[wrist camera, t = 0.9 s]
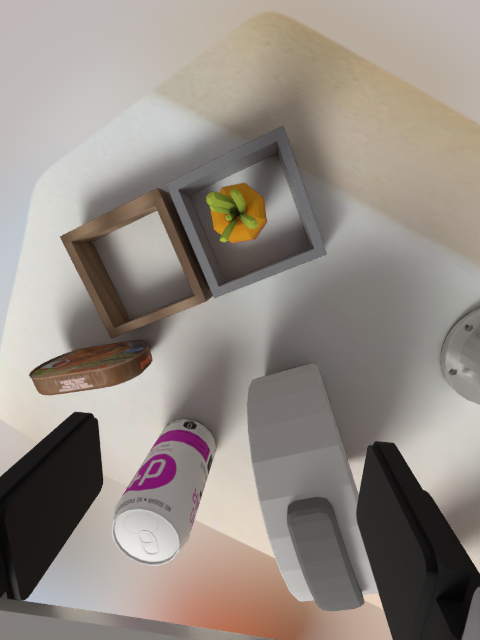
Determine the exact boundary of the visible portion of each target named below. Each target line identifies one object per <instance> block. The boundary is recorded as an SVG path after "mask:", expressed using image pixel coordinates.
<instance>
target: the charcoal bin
mask: <svg viewBox="0 0 480 640" xmlns="http://www.w3.org/2000/svg"><path fill="white" fill-rule="evenodd" d="M276 153H278V156H279V159H280V161H281V164H282V167H283V170H284V173H285V176H286V179H287V182H288V184H289V187H290V190H291V193H292V196H293V199H294V202H295V204H296V207H297V210H298V213H299V216H300V219H301V222H302V225H303V227H304V230H305V233H306V236H307V239H308V242H309V245H310V249H307V250H305V251H302V252H300V253H297V254H295V255H292V256H290V257H287V258H285V259H282V260H280V261H277V262H274V263H272V264H269V265H267V266H264V267H262V268H259V269H257V270H254V271H252V272H249V273H247V274H244V275H242V276H239V277H237V278H234V279H232V280H229V281H227V282H225V281H224V279H223V276H222V274H221V271H220V269H219V266H218V264H217V262H216V259H215V257H214V254H213V252H212V249H211V247H210V245H209V242H208V240H207V237H206V235H205V232H204V230H203V228H202V225H201V223H200V220H199V218H198V215H197V213H196V211H195V208H194V206H193V203H192V201H191V198H190V196H189V195H190V194H192V193H194V192H196V191H199V190H201V189H203V188H205V187H207V186H209V185H211V184H213V183H215V182H217V181H219V180H222V179H224V178H226V177H228V176H230V175H232V174H234V173H236V172H238V171H240V170H242V169H245V168H247V167H249V166H251V165H253V164H255V163H257V162H259V161H261V160H263V159H265V158H268V157H270V156H272V155H274V154H276ZM166 186H167V188H168V190H169V193H170V195H171V198H172V200H173V202H174V205H175V207H176V209H177V212H178V214H179V216H180V219H181V221H182V224H183V226H184V228H185V231H186V233H187V235H188V238H189V240H190V242H191V245H192V247H193V249H194V252H195V254H196V257H197V259H198V261H199V264H200V266H201V268H202V271H203V273H204V275H205V278H206V280H207V283H208V285H209V287H210V290H211V292H212V294H213V297H214V298H216V297H219V296H221V295H224V294H226V293H229V292H231V291H234V290H237V289H239V288H242V287H244V286H247V285H249V284H252V283H255V282H257V281H260V280H262V279H265V278H267V277H270V276H272V275H275V274H278V273H280V272H283V271H285V270H288V269H290V268H293V267H296V266H298V265H301V264H303V263H306V262H308V261H311V260H313V259H316V258H319V257H321V256H324V255H326V254H327V253H326V250H325V247H324V244H323V241H322V238H321V235H320V232H319V230H318V227H317V224H316V221H315V218H314V215H313V212H312V209H311V206H310V203H309V200H308V197H307V194H306V191H305V188H304V185H303V182H302V179H301V176H300V174H299V171H298V168H297V165H296V162H295V159H294V156H293V153H292V150H291V147H290V144H289V141H288V138H287V135H286V132H285V129H284V126H282V127H280V128H278V129H276V130H274V131H272V132H270V133H268V134H266V135H264V136H261V137H259V138H257V139H255V140H253V141H251V142H249V143H247V144H245V145H243V146H241V147H239V148H237V149H235V150H233V151H231V152H229V153H227V154H225V155H223V156H221V157H219V158H217V159H215V160H213V161H211V162H209V163H207V164H205V165H203V166H201V167H199V168H197V169H195V170H193V171H191V172H189V173H187V174H185V175H183V176H181V177H179V178H177V179H175V180H173V181H171V182H169V183H167V184H166Z"/></svg>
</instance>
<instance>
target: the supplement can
mask: <svg viewBox="0 0 480 640" xmlns="http://www.w3.org/2000/svg"><path fill="white" fill-rule="evenodd" d="M215 451H216V446H215V440H214V438H213V436H212V434H211V432H210V431H209V430H208V429H207V428H205V427H204V426H203V425H202V424H199V423H197V422H195V421H192V420H186V419H182V420H177V421H174V422H172V423H170V424H168V425H167V426H166V427H165V429H164V430H163V431H162V433H161V435H160V436H159V438H158V439H157V441H156V443H155V444H154V446H153V447H152V449H151V451H150V452H149V454H148V455H147V457H146V459H145V460H144V462H143V463H142V465H141V467H140V468H139V470H138V471H137V473H136V475H135V476H134V478H133V480H132V481H131V483H130V484H129V486H128V488H127V489H126V491H125V492H124V494H123V496H122V497H121V499H120V500H119V502H118V504H117V505H116V507H115V513H114V521H113V527H112V536H113V540H114V542H115V544H116V545H117V547H118V548H119V550H120V551H121V552H122V553H123V554H125V555H126V556H127V557H128V558H129V559H131V560H134V561H136V562H138V563H140V564H145V565H150V566H154V565H163V564H165V563H167V562H169V561H171V560H172V559H173V558H174V557H175V556H176V555H177V553H178V551H180V550H181V549H182V547H183V546H184V545H185V544H186V543H187V542H188V538H189V535H190V532H191V529H192V525H193V522H194V519H195V516H196V513H197V509H198V506H199V503H200V500H201V497H202V493H203V490H204V487H205V484H206V480H207V477H208V474H209V471H210V467H211V464H212V461H213V458H214V454H215Z"/></svg>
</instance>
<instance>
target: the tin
mask: <svg viewBox="0 0 480 640" xmlns="http://www.w3.org/2000/svg"><path fill="white" fill-rule="evenodd" d="M151 362H152V356H151V352H150V349H149V343H148V342H147V341H144V340H132V341H126V342H120V343H114V344H108V345H102V346H96V347H90V348H84V349H79V350H76V351H72V352H69V353H66V354H63V355H60V356H58V357H56V358H53V359H51V360H49V361H47V362H45V363H43V364H41V365H40V366H38V367H36V368H35V369H34V370H33V371H31V373H30V375H29V376H30V378H32V380H33V382H34V385H35V387H36V389H37V391H38V392H39V393H40V394H42V395H56V394H64V393H70V392H78V391H85V390H92V389H98V388H105V387H110V386H114V385H118V384H121V383H124V382H126V381H128V380H131V379H133V378H135V377H136V376H138V375H140V374H141V373H142V372H143V371H144V370H145V369H146V368H147V367H148V366H149V365H150V364H151Z"/></svg>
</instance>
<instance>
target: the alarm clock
mask: <svg viewBox="0 0 480 640" xmlns="http://www.w3.org/2000/svg"><path fill="white" fill-rule="evenodd" d="M247 415H248V434H249V443H250V451H251V459H252V466H253V472H254V477H255V482H256V488H257V493H258V498H259V503H260V507H261V511H262V515H263V518H264V522H265V526H266V530H267V534H268V538H269V541H270V544H271V547H272V550H273V553H274V556H275V559H276V562H277V564H278V567H279V570H280V572H281V574H282V577H283V579H284V580H285V582H286V585H287V587H288V589H289V591H290V592H291V593H292V594H293V595H294V596H295V597H296V598H297V599H298V600H299V601H300V602H301V601H310V600H315V602H316V604H317V605H318V607H319V608H321V609H322V610H326V611H339V610H348V609H355V608H358V607H360V606H361V605H363V604H364V599H363V595H364V594H373V593H379V592H378V589H377V586H376V583H375V579H374V576H373V573H372V570H371V566H370V563H369V560H368V557H367V553H366V550H365V547H364V543H363V540H362V537H361V534H360V530H359V527H358V524H357V519H356V509H357V503H358V498H359V494H358V491H357V488H356V485H355V482H354V478H353V475H352V472H351V469H350V466H349V462H348V459H347V456H346V453H345V450H344V447H343V443H342V440H341V437H340V434H339V431H338V428H337V425H336V422H335V418H334V415H333V412H332V409H331V406H330V403H329V400H328V396H327V393H326V390H325V387H324V384H323V381H322V378H321V375H320V372H319V369H318V366H317V364H316V363H311V364H307V365H304V366H300V367H296V368H293V369H289V370H285V371H282V372H278V373H274V374H271V375H267V376H263V377H260V378H256V379H253V380H252V382H251V385H250V387H249V392H248V402H247Z"/></svg>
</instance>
